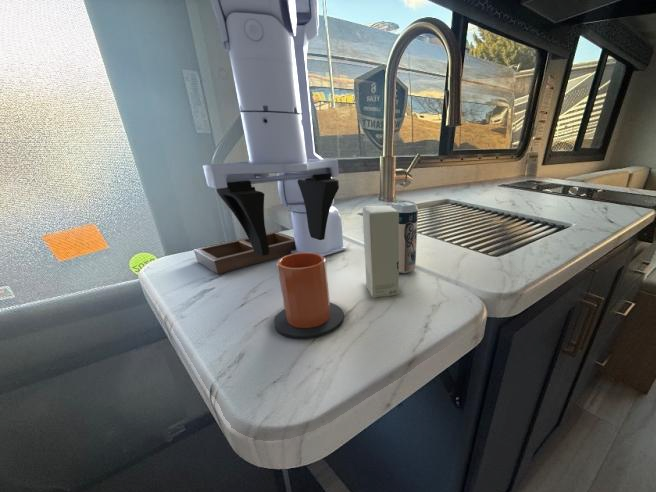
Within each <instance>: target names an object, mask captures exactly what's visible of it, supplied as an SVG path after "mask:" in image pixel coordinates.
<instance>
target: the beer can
mask: <svg viewBox="0 0 656 492" xmlns="http://www.w3.org/2000/svg"><path fill="white" fill-rule="evenodd" d="M390 207H392V208H394V209H395V210H397V211H398V212H399V274H410V273H411V272H413V271H415V270H416V266H417V265H416V263H417V241H418V238H417V237H418V220H419V219H418V218H419V208H418V205H417V203H416V202H414V201H407V200H398V201H393V202H392V203H391V205H390Z"/></svg>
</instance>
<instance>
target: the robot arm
mask: <svg viewBox="0 0 656 492" xmlns="http://www.w3.org/2000/svg"><path fill="white" fill-rule="evenodd" d="M210 3H211V6H212V9H213V12H214V15H215V18H216V22H217V26H218V31H219V35H220V40H221V42H222V46H223V49H224V51H225V52H227V53H228V55H229V61H230V65H231V71H232V76H233V80H234V86H235V92H236V96H237V102H238V107H239V113H240V119H241V123H242V128H243V133H244V134H243V135H244V138H245V145H246V149H247V154H248V155H247V156H248V160H247V161H235V162H224V163H212V164H202V168H203V172H204V176H205V180H206V185H207V187H208V188H212V189H213V188H214V189H216V192H217V194H218V196H219V197H220V198H221V200H222V201H223V202H224V204H225V205H226V206H227V208H229V209H230V211H231V212H232V213H233V215H234V216H235V218H236V219H237V221H238V222H239V224H240V226H241V227H242V229H243V231H244V233H245V234H246V236H247V238H249V241H250V243H251V245H252V247H253V250H254V252H256V253H258V254H260V255H262V256H264V255H268V254H269V245H268V240H267V235H266V234H267V231H266V230H267V229H266V225H265V224H266V223H265V193H264V192H262V191H259V190H256V187H255V186H252V185H256V184H265V183H266V184H267V183H276V182H277V190H278V196H279V199H280V203H281V204H282V205H283V206H284V208H287V210H288V212H290V218H291V224H292V231H293V237H294V239H295V246H296V250H293V251H291V253H292V254H295V253H316V254H320V255H322V256H324V257H325V256H329V255H332V254H335V253H338V252H341V251H345V250H347V247H346V246H344V238H343V237H344V236H343V235H344V234H343V224H342V216H341V214H340V212H339V210H338V209H337V208H336V207H335V206H333V205H334V204H335V197H336V195H337V193H338V191H339V189H340V183H339V182H340V181H339V179H338V178H337V179H336V178H335V177H340V175H339V160H338V159H336V158H322V156H320V155H318V153H316V150H315V140H314V139H315V138H314V129H313V119H312V118H313V117H312V107H311V98H310V97H311V96H310V85H309V76H308V68H307V67H308V65H307V55H308V47H309V42H310V41H311V40H313V39H314V38H316V37H318V36H319V28H320V19H319V17H320V16H319V0H210ZM270 174H277V175H270Z"/></svg>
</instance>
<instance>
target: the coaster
mask: <svg viewBox="0 0 656 492" xmlns="http://www.w3.org/2000/svg"><path fill="white" fill-rule="evenodd" d="M330 310H331V311H330V314H331V315H330V318H329V320H328V321H326V322H325V323H323V324H321V325H319V326H316V327H311V328H297V327H294V326H292V325H290V324H289V323H288V322H287V317H286V313H285V308H283V309H282V310H280V311H279V312H278V313H277V314H276V315H275V317H274V320H273V327H274V329H275V331H276V332H277V333H278V334H279V335H281V336H283V337H285V338H288V339H293V340H294V339H295V340H308V339H309V340H310V339H315V338H320V337H323V336H327V335H329V334H330V333H331V334H332V333H333V332H334V331H336V330H337V329H339V327H340V326H341V325H343V322H344V321H345V313H344V310H343V309H342V307H340V306H339V305H338V304H335V303H333V302H330Z"/></svg>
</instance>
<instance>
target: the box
mask: <svg viewBox="0 0 656 492" xmlns="http://www.w3.org/2000/svg"><path fill="white" fill-rule="evenodd" d="M362 226H363V227H362V229H363V246H364V265H365V267H364V268H365V284H366V285H365V287H366V288H367V290H368V292H369V294H370V296H371V297H372V298H383V297H390V296H397V295H399V294H400V286H399V285H400V284H399V283H400V273H399V212H398V211H397V210H395V209H394V208H392V207H391V205H371V206H370V205H368V206H367V205H366V206H363V207H362Z"/></svg>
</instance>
